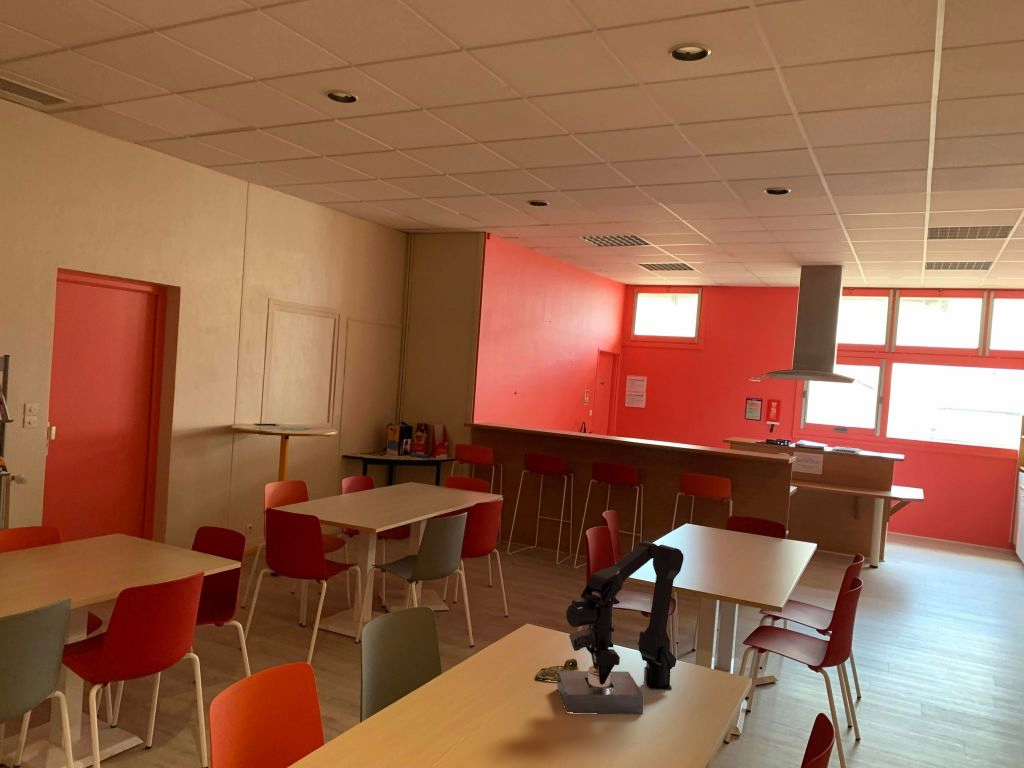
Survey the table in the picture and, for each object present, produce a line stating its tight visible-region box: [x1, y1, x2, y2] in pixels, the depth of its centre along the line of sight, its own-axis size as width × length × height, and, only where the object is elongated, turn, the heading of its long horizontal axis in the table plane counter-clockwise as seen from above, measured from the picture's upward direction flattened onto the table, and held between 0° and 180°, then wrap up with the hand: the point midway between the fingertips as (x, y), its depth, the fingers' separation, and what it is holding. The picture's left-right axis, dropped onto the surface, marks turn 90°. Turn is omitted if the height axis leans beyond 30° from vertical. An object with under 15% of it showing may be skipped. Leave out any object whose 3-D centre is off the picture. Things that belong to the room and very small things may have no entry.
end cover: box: [588, 665, 611, 688], centre depth 202 cm, size 6×6×8 cm
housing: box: [556, 670, 644, 715], centre depth 202 cm, size 20×16×5 cm
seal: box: [535, 658, 580, 681], centre depth 219 cm, size 9×5×15 cm
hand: (599, 679), depth 202 cm, fingers closed on end cover, 6 cm apart
